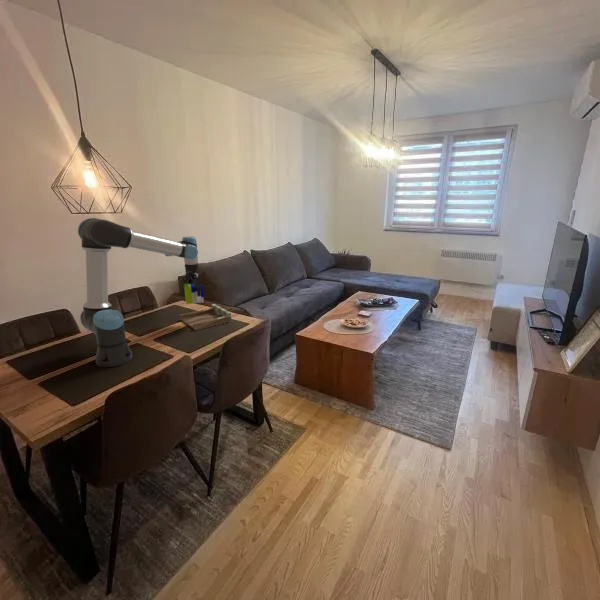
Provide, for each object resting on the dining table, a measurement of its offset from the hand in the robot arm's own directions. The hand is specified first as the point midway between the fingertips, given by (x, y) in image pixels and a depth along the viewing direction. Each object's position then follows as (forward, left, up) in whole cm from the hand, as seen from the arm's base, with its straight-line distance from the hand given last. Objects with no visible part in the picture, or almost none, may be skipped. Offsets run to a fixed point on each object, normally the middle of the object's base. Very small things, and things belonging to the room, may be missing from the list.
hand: (194, 298), depth 198 cm
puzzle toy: (0, 0, -2) cm, 2 cm away
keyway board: (0, -7, -16) cm, 17 cm away
